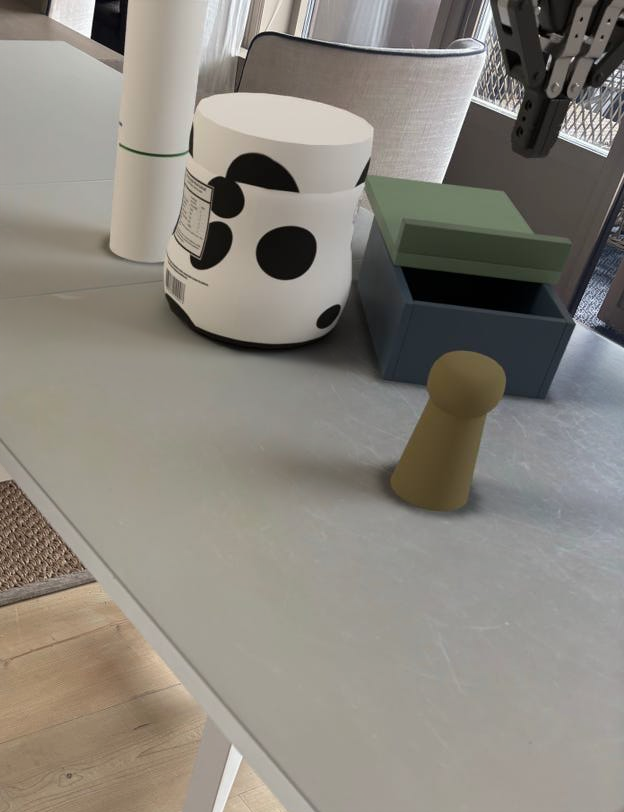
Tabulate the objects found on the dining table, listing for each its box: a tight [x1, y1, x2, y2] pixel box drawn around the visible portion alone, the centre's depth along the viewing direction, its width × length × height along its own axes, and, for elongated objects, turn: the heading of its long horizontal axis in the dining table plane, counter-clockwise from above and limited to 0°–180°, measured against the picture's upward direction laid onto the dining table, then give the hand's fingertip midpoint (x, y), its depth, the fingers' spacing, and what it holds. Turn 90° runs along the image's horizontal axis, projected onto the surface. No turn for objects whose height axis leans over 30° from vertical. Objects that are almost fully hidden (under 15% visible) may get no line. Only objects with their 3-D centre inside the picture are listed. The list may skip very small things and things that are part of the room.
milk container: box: [163, 92, 375, 350], centre depth 87 cm, size 17×17×18 cm
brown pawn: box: [389, 351, 506, 512], centre depth 70 cm, size 6×6×11 cm
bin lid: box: [364, 174, 573, 286], centre depth 95 cm, size 15×22×4 cm
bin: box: [356, 214, 577, 400], centre depth 92 cm, size 15×22×8 cm
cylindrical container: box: [109, 0, 209, 264], centre depth 95 cm, size 7×7×25 cm
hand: (528, 154), depth 67 cm, fingers closed
